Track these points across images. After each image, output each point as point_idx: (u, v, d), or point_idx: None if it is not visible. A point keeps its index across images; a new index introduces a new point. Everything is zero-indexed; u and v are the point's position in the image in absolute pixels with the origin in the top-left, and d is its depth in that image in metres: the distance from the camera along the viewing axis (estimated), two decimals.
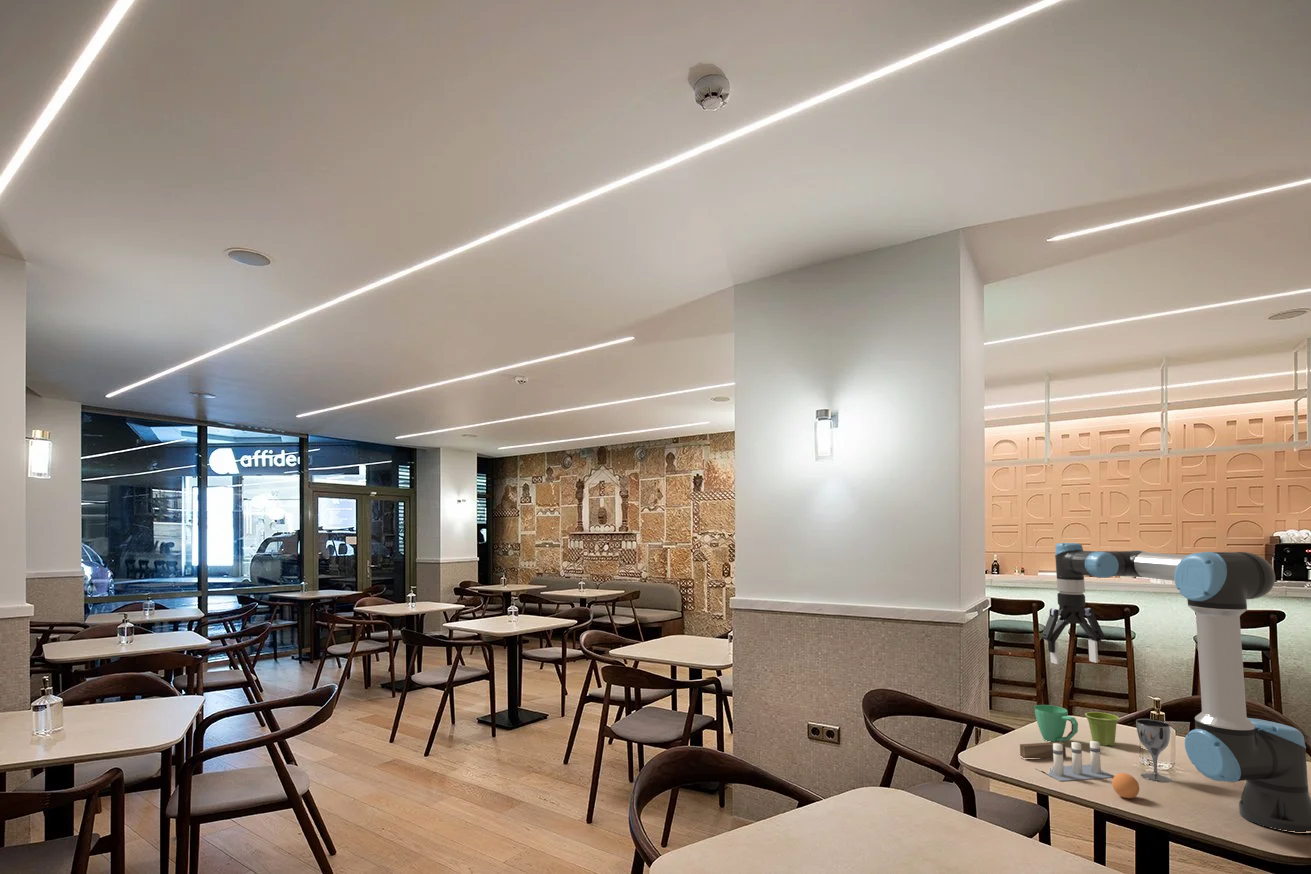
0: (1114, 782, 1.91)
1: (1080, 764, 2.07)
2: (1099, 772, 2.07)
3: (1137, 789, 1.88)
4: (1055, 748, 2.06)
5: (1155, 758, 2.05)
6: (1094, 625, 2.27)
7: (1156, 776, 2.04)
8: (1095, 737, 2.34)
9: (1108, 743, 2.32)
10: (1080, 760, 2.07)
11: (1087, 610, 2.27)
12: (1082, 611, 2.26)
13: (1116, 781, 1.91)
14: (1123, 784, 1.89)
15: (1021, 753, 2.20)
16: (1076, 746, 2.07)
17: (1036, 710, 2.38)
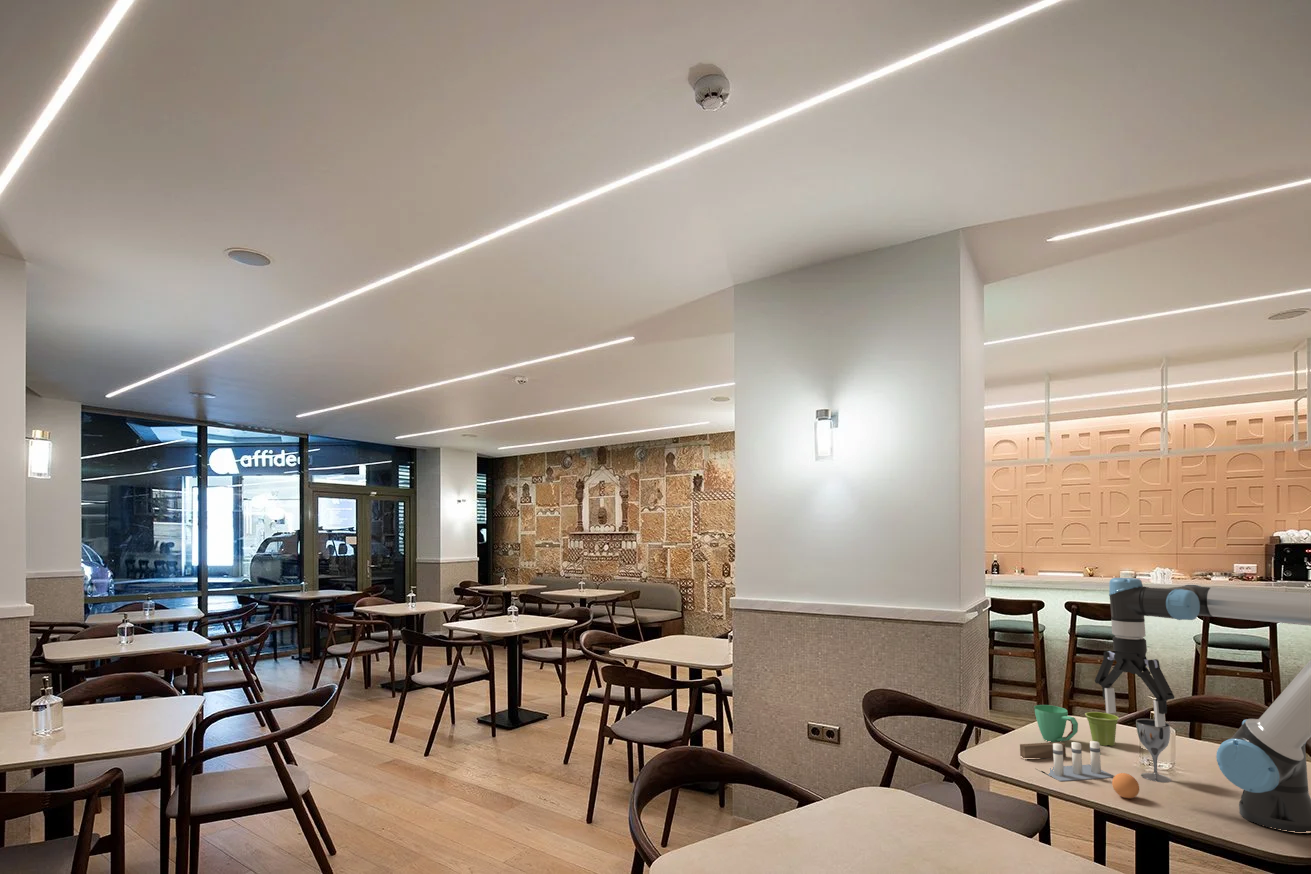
0: (1114, 782, 1.91)
1: (1080, 764, 2.07)
2: (1099, 772, 2.07)
3: (1137, 789, 1.88)
4: (1055, 748, 2.06)
5: (1155, 758, 2.05)
6: None
7: (1156, 776, 2.04)
8: (1095, 737, 2.34)
9: (1108, 743, 2.32)
10: (1080, 760, 2.07)
11: None
12: (1137, 660, 1.90)
13: (1116, 781, 1.91)
14: (1123, 784, 1.89)
15: (1021, 753, 2.20)
16: (1076, 746, 2.07)
17: (1036, 710, 2.38)
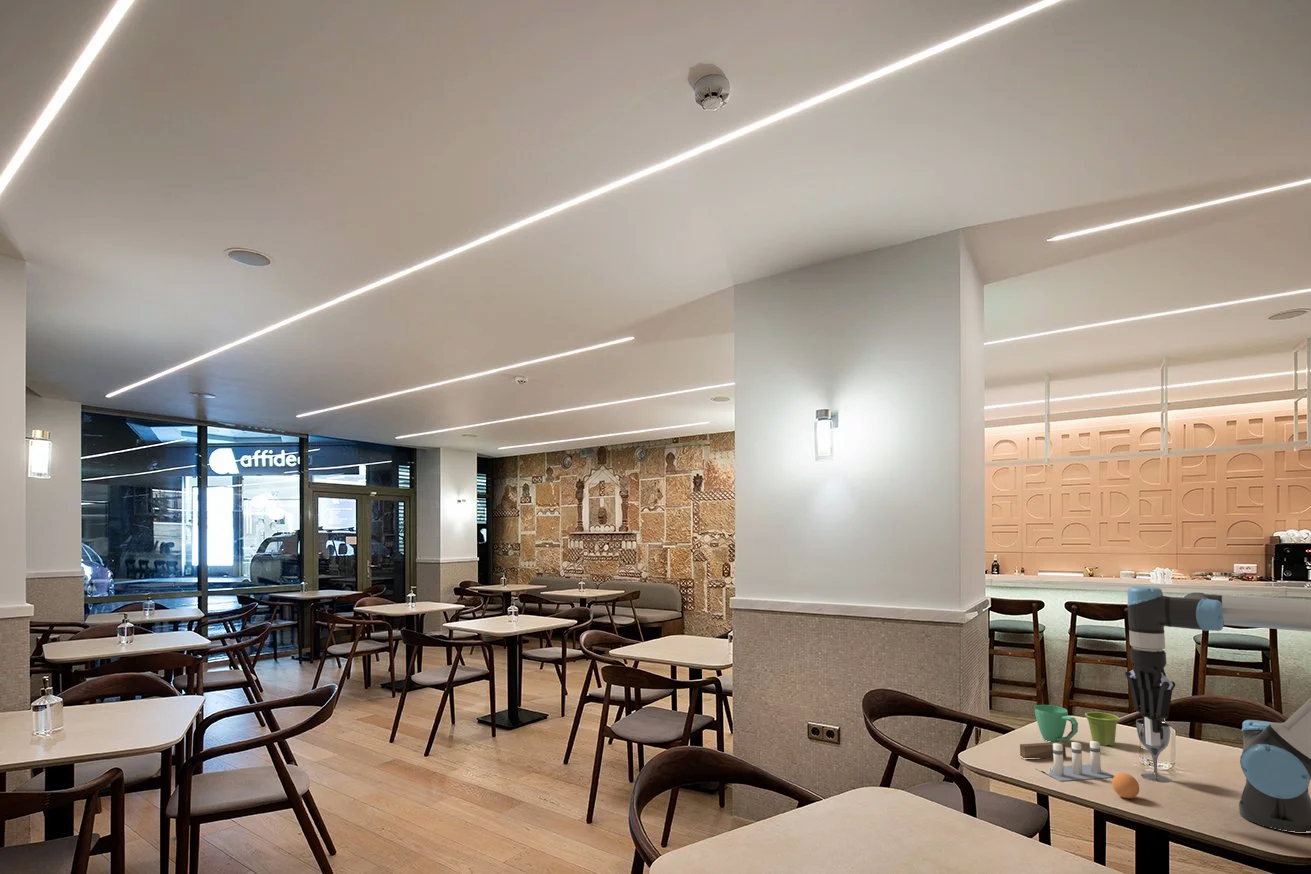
0: (1114, 782, 1.91)
1: (1080, 764, 2.07)
2: (1099, 772, 2.07)
3: (1137, 789, 1.88)
4: (1055, 748, 2.06)
5: (1155, 758, 2.05)
6: None
7: (1156, 776, 2.04)
8: (1095, 737, 2.34)
9: (1108, 743, 2.32)
10: (1080, 760, 2.07)
11: (1164, 680, 1.80)
12: (1155, 673, 1.82)
13: (1116, 781, 1.91)
14: (1123, 784, 1.89)
15: (1021, 753, 2.20)
16: (1076, 746, 2.07)
17: (1036, 710, 2.38)
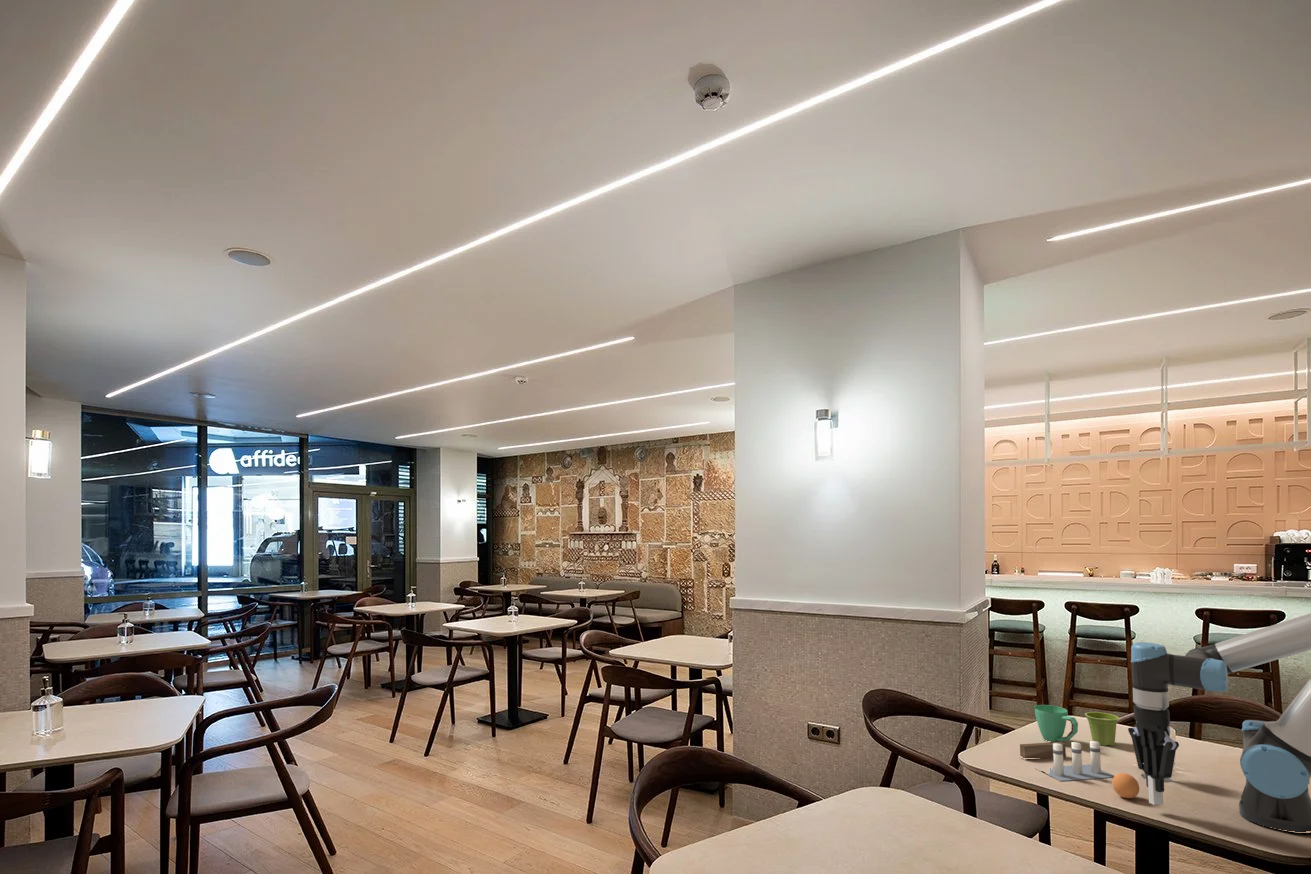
0: (1114, 782, 1.91)
1: (1080, 764, 2.07)
2: (1099, 772, 2.07)
3: (1137, 789, 1.88)
4: (1055, 748, 2.06)
5: None
6: None
7: None
8: (1095, 737, 2.34)
9: (1108, 743, 2.32)
10: (1080, 760, 2.07)
11: (1168, 740, 1.78)
12: (1158, 732, 1.80)
13: (1116, 781, 1.91)
14: (1123, 784, 1.89)
15: (1021, 753, 2.20)
16: (1076, 746, 2.07)
17: (1036, 710, 2.38)
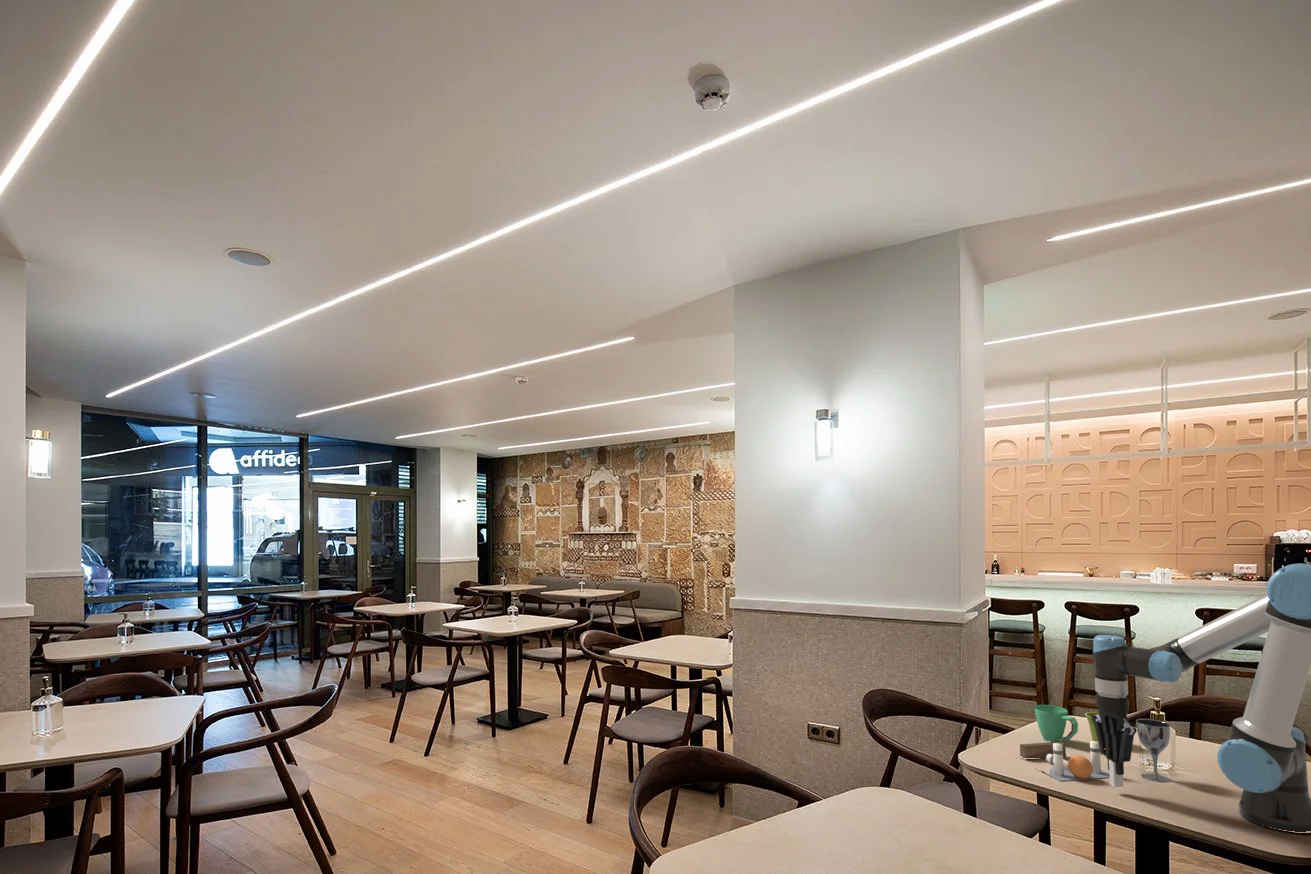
0: (1074, 770, 2.03)
1: (1063, 760, 2.12)
2: (1099, 772, 2.07)
3: None
4: (1055, 748, 2.06)
5: (1155, 758, 2.05)
6: None
7: (1156, 776, 2.04)
8: (1095, 737, 2.34)
9: None
10: None
11: (1126, 726, 1.91)
12: (1118, 718, 1.93)
13: (1076, 772, 2.03)
14: (1077, 777, 2.04)
15: (1021, 753, 2.20)
16: (1048, 755, 2.17)
17: (1036, 710, 2.38)
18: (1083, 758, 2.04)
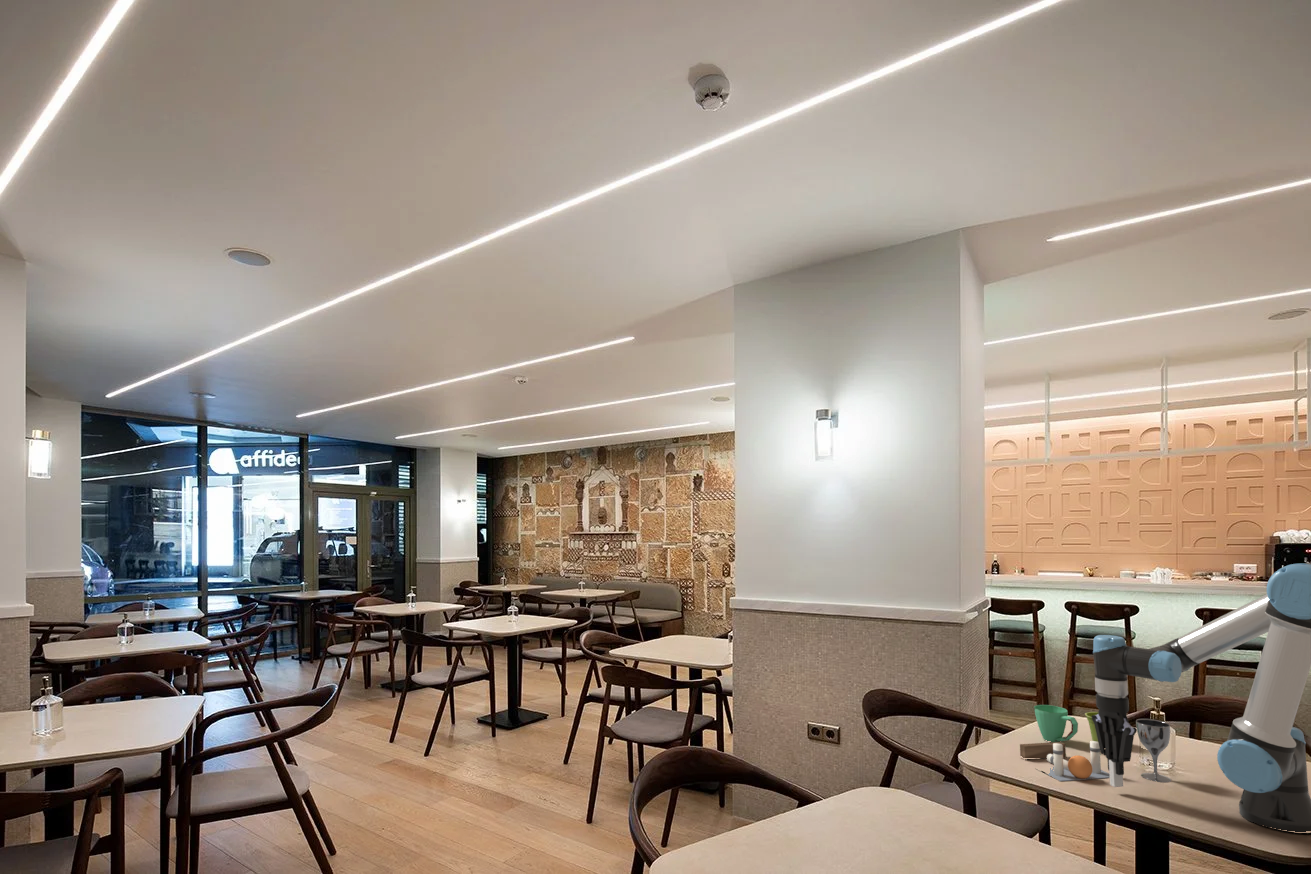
0: (1074, 770, 2.03)
1: (1064, 760, 2.12)
2: (1099, 772, 2.07)
3: None
4: (1055, 748, 2.06)
5: (1155, 758, 2.05)
6: None
7: (1156, 776, 2.04)
8: (1095, 737, 2.34)
9: None
10: None
11: (1126, 726, 1.91)
12: (1118, 718, 1.93)
13: (1076, 773, 2.03)
14: (1077, 777, 2.04)
15: (1021, 753, 2.20)
16: (1048, 755, 2.17)
17: (1036, 710, 2.38)
18: (1083, 758, 2.04)
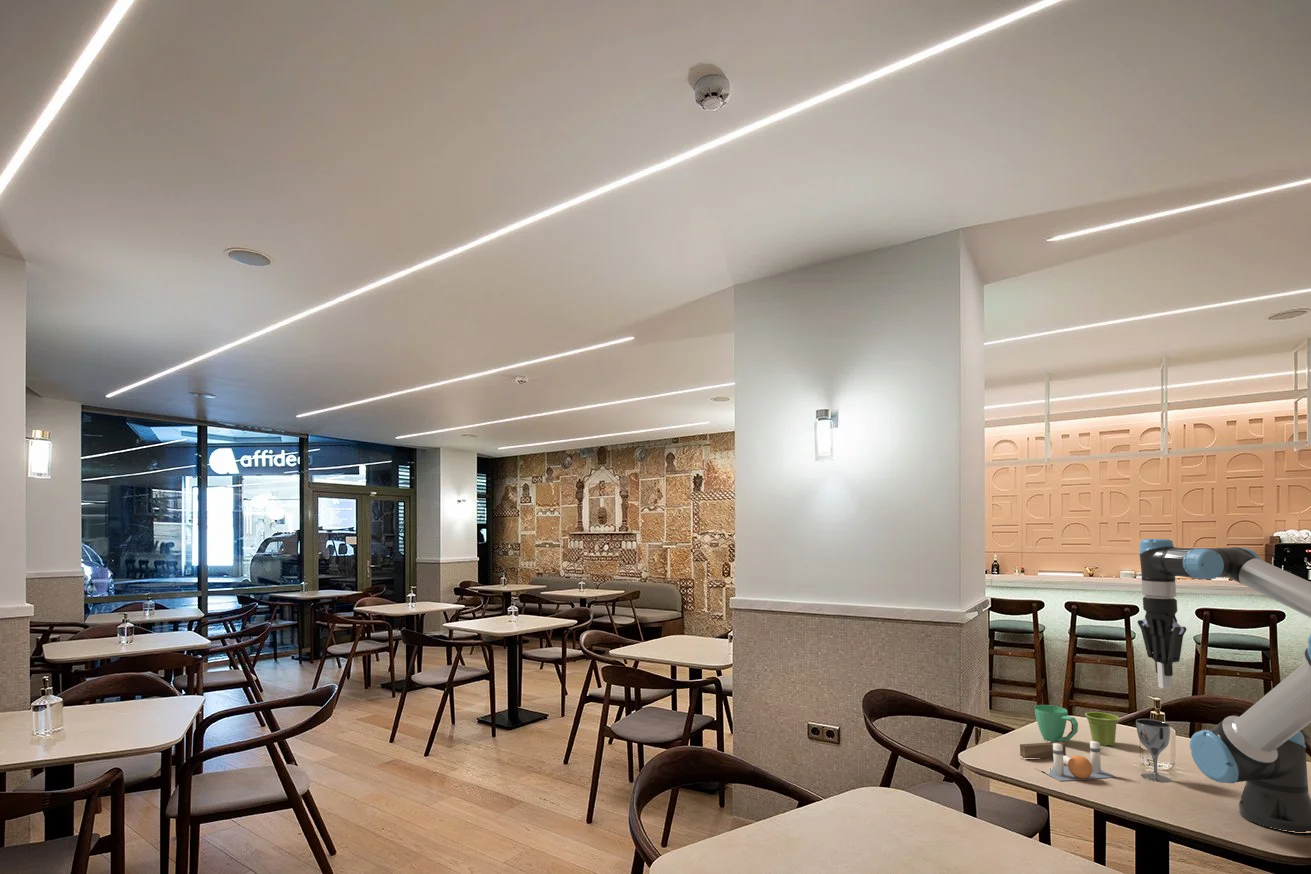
0: (1074, 770, 2.03)
1: None
2: (1099, 772, 2.07)
3: None
4: (1055, 748, 2.06)
5: (1155, 758, 2.05)
6: None
7: (1156, 776, 2.04)
8: (1095, 737, 2.34)
9: (1108, 743, 2.32)
10: None
11: (1176, 626, 1.89)
12: (1167, 619, 1.91)
13: (1076, 773, 2.03)
14: (1077, 777, 2.04)
15: (1021, 753, 2.20)
16: None
17: (1036, 710, 2.38)
18: (1083, 758, 2.04)
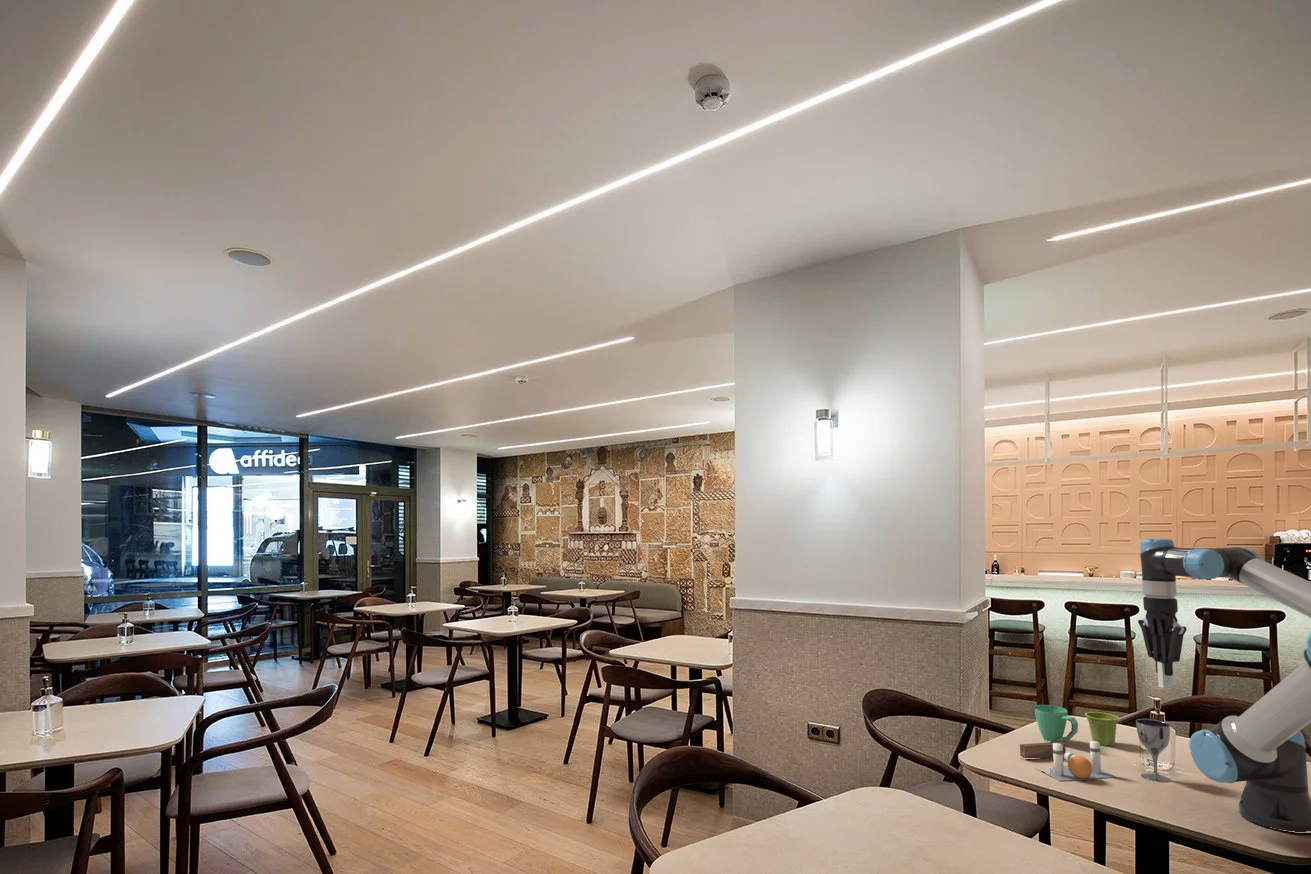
0: (1074, 770, 2.03)
1: None
2: (1099, 772, 2.07)
3: None
4: (1055, 748, 2.06)
5: (1155, 758, 2.05)
6: None
7: (1156, 776, 2.04)
8: (1095, 737, 2.34)
9: (1108, 743, 2.32)
10: None
11: (1176, 625, 1.89)
12: (1167, 619, 1.91)
13: (1076, 773, 2.03)
14: (1077, 777, 2.04)
15: (1021, 753, 2.20)
16: (1065, 758, 2.18)
17: (1036, 710, 2.38)
18: (1083, 758, 2.04)
